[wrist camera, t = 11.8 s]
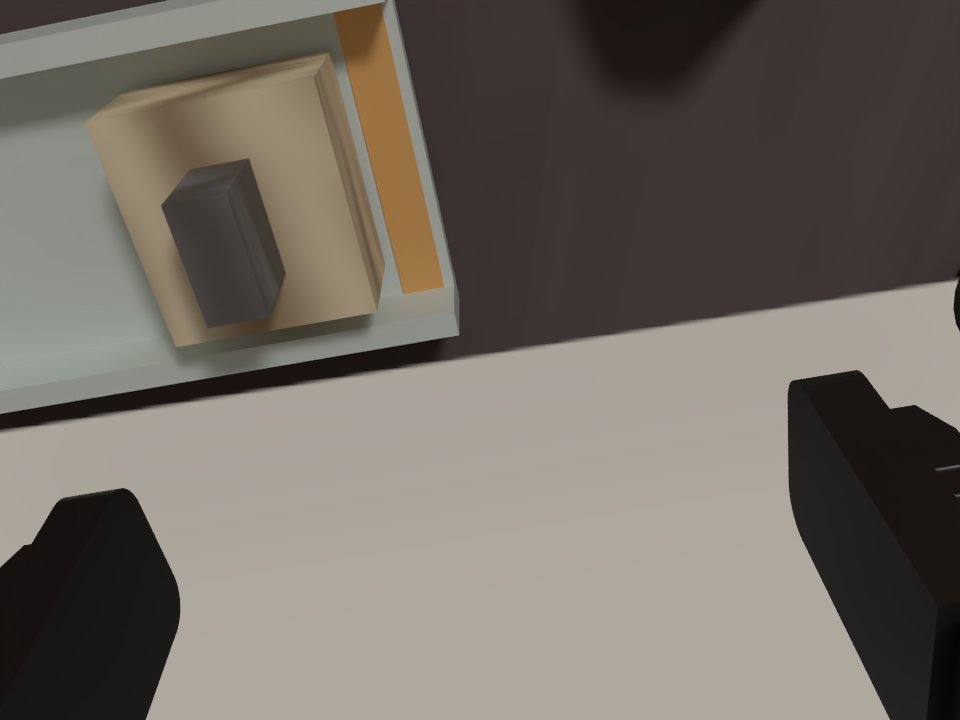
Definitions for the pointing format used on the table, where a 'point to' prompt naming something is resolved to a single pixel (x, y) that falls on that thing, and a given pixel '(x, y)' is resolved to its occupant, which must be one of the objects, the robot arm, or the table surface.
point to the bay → (102, 230)
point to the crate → (244, 198)
